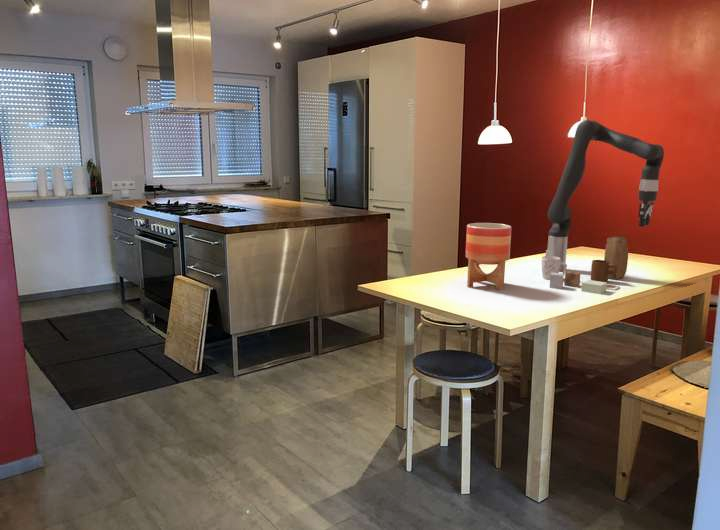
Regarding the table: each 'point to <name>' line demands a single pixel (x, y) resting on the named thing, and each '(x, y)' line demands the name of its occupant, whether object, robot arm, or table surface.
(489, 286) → the table surface
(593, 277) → the mug
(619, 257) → the brown tall piece
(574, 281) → the walnut block
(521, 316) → the table surface
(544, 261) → the mug
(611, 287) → the tile
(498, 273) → the planter
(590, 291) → the base block
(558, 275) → the grey block
